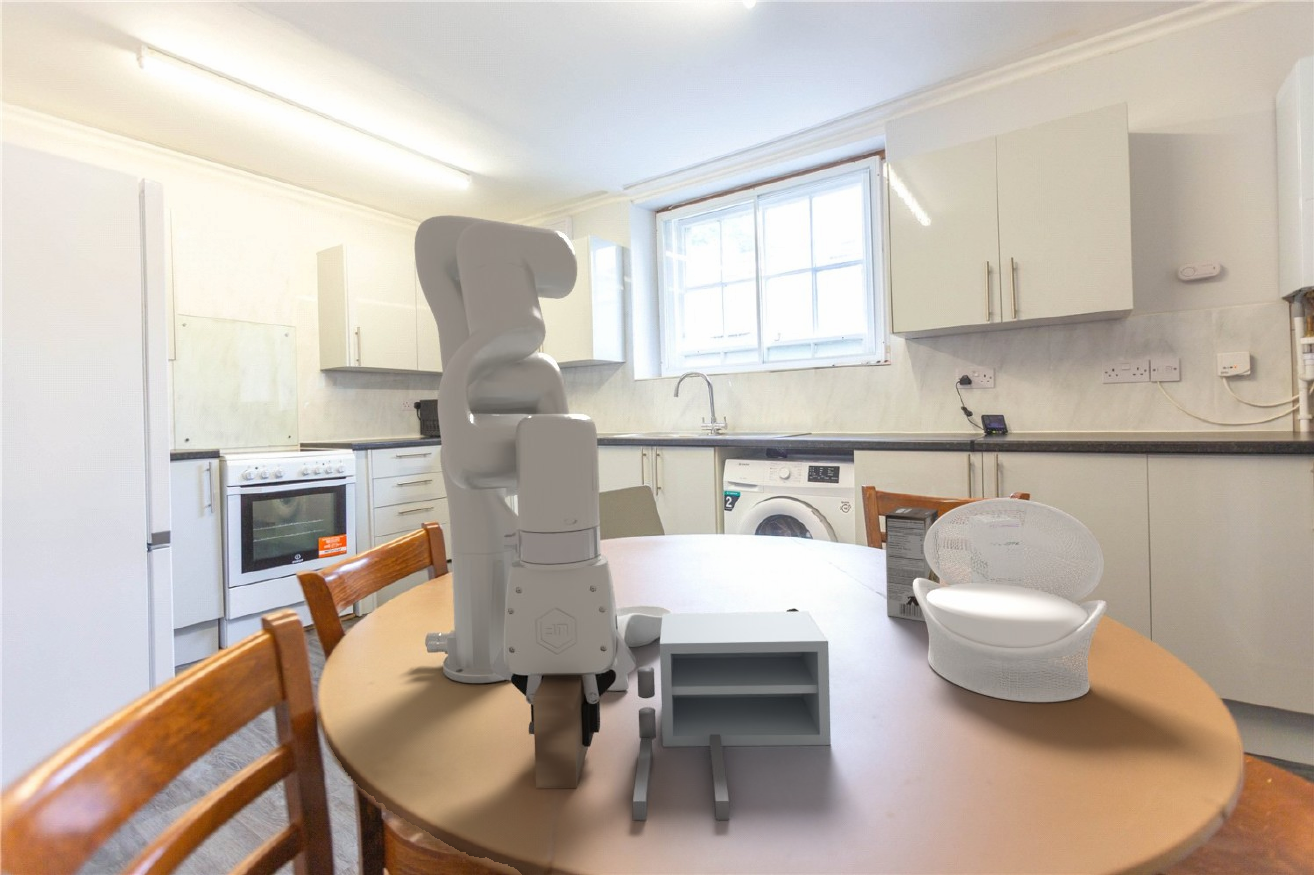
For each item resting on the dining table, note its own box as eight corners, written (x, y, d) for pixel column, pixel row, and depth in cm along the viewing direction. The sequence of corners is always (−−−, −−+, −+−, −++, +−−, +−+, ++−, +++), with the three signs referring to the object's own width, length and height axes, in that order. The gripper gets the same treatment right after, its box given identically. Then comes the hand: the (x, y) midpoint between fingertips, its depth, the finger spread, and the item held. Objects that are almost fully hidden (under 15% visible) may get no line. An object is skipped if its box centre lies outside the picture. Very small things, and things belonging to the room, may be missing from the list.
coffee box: (900, 601, 101) (898, 506, 101) (941, 607, 97) (939, 508, 97) (885, 616, 94) (883, 513, 93) (929, 623, 90) (927, 516, 89)
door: (527, 788, 51) (524, 696, 51) (552, 729, 61) (549, 652, 61) (576, 788, 51) (573, 695, 51) (593, 728, 61) (591, 651, 61)
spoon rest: (603, 625, 94) (601, 580, 94) (677, 626, 93) (676, 580, 92) (561, 693, 70) (559, 632, 70) (660, 695, 69) (658, 633, 69)
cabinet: (630, 820, 47) (626, 694, 47) (645, 703, 67) (642, 614, 66) (865, 819, 46) (862, 691, 46) (810, 701, 66) (808, 611, 66)
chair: (896, 681, 70) (892, 512, 70) (935, 631, 86) (932, 493, 86) (1108, 729, 58) (1104, 525, 58) (1108, 661, 74) (1106, 500, 74)
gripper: (458, 556, 52) (465, 762, 53) (646, 552, 52) (652, 761, 52) (486, 540, 60) (492, 720, 60) (650, 536, 59) (656, 718, 60)
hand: (566, 737), depth 56 cm, fingers closed on door, 3 cm apart
